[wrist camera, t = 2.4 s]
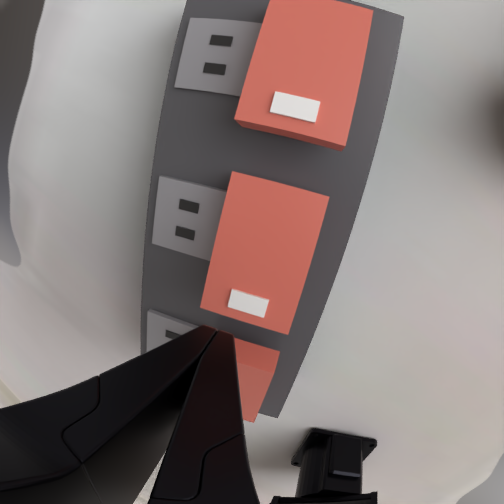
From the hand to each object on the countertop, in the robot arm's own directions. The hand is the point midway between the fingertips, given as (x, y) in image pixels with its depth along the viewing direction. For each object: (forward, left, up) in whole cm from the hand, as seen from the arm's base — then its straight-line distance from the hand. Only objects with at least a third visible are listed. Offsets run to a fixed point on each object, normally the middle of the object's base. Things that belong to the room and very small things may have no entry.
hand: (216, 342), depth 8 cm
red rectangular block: (-8, 0, -6) cm, 10 cm away
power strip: (+5, +1, -12) cm, 13 cm away
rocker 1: (+8, 0, -6) cm, 10 cm away
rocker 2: (0, 0, -6) cm, 6 cm away
